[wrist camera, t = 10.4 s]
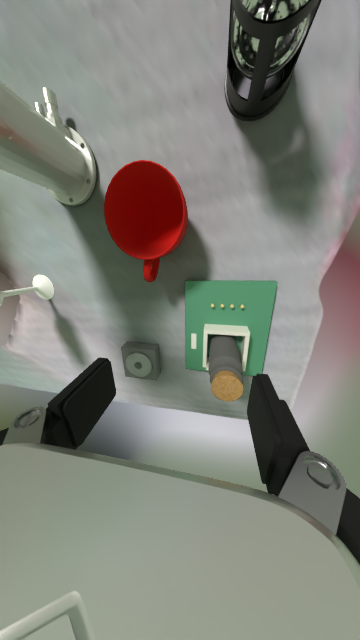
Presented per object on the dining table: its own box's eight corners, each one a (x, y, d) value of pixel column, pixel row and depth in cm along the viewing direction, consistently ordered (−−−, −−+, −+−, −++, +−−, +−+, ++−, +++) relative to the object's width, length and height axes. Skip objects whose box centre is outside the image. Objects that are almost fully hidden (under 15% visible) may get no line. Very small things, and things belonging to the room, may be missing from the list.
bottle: (242, 342, 38) (256, 390, 24) (223, 358, 40) (227, 410, 26) (222, 326, 38) (226, 365, 24) (204, 343, 40) (199, 387, 26)
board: (186, 280, 37) (180, 284, 32) (275, 280, 34) (286, 285, 28) (186, 365, 45) (182, 380, 39) (259, 372, 41) (266, 390, 36)
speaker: (126, 341, 46) (119, 348, 43) (158, 344, 44) (153, 351, 41) (130, 369, 49) (124, 378, 46) (160, 373, 48) (155, 382, 44)
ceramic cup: (134, 275, 39) (109, 280, 30) (131, 187, 33) (99, 160, 24) (189, 280, 37) (181, 287, 28) (196, 186, 31) (188, 157, 22)
